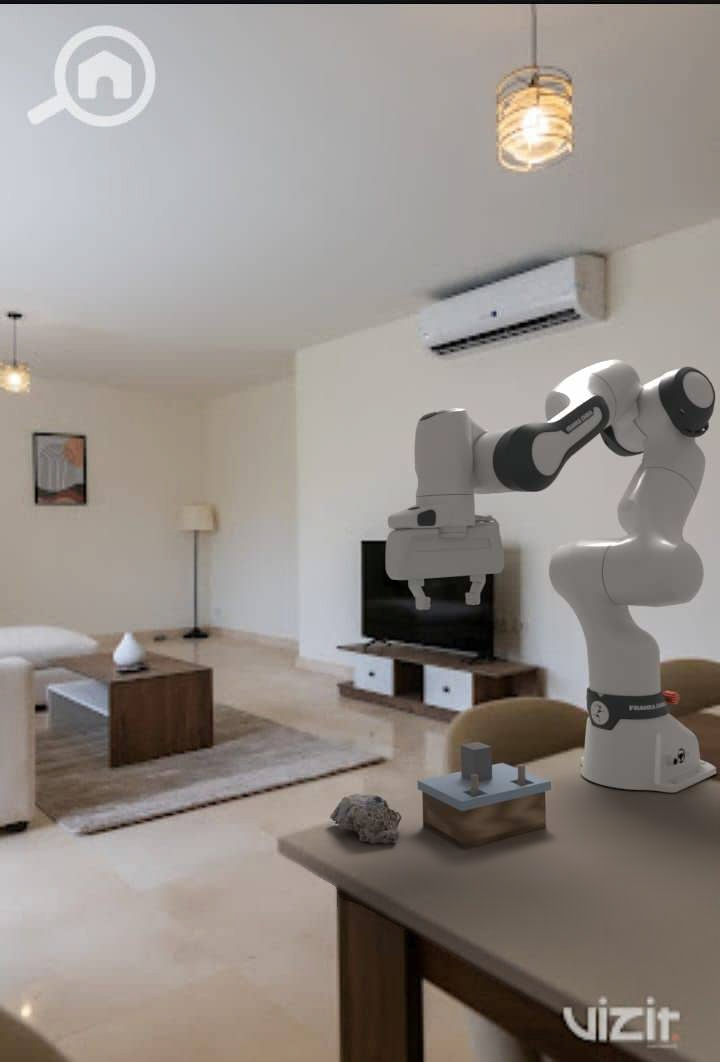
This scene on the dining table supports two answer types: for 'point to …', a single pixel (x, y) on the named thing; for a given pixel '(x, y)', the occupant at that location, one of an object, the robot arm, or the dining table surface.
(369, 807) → the mineral specimen
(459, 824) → the wooden box with pegs
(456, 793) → the grey peg base plate
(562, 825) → the dining table surface
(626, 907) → the dining table surface
